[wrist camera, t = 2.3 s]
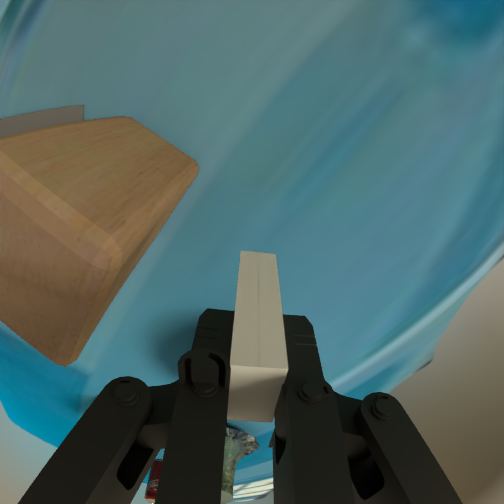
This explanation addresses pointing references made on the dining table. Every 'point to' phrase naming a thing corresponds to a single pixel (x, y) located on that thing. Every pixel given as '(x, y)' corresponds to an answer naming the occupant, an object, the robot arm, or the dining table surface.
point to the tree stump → (234, 458)
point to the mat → (40, 119)
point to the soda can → (153, 481)
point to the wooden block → (79, 223)
